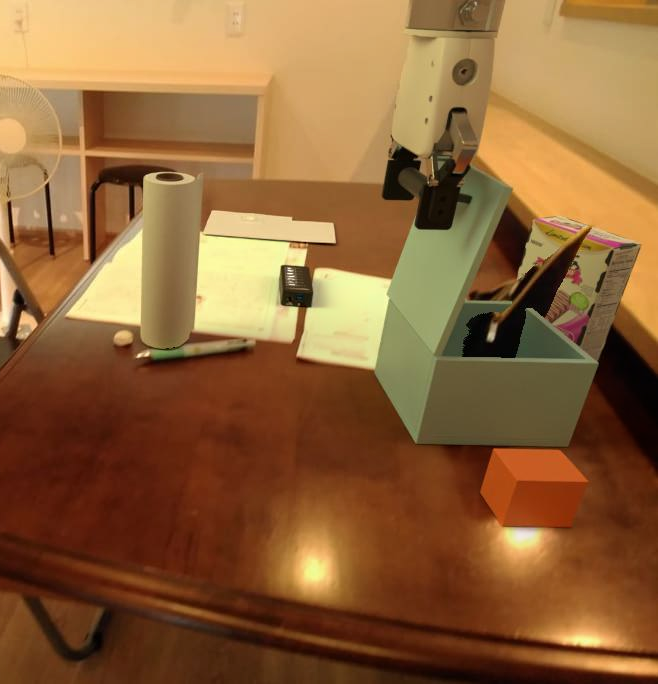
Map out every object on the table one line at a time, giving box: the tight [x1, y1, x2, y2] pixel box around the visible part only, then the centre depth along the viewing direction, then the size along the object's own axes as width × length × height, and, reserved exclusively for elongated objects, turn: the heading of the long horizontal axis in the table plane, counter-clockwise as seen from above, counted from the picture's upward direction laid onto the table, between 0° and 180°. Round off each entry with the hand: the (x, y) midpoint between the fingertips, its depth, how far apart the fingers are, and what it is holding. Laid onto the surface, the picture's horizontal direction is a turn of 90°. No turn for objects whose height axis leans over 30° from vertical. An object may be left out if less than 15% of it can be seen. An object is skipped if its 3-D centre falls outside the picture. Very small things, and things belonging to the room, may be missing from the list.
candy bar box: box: [515, 215, 643, 363], centre depth 85 cm, size 11×5×16 cm, turn 22°
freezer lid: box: [386, 162, 514, 356], centre depth 68 cm, size 16×15×6 cm
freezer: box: [373, 298, 599, 448], centre depth 74 cm, size 16×15×10 cm
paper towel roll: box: [139, 171, 205, 350], centre depth 85 cm, size 7×6×21 cm
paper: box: [202, 209, 337, 244], centre depth 133 cm, size 25×17×1 cm
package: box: [479, 447, 589, 528], centre depth 60 cm, size 6×4×5 cm
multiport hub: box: [278, 264, 314, 308], centre depth 104 cm, size 4×11×2 cm, turn 171°
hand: (413, 213), depth 66 cm, fingers open, 9 cm apart
